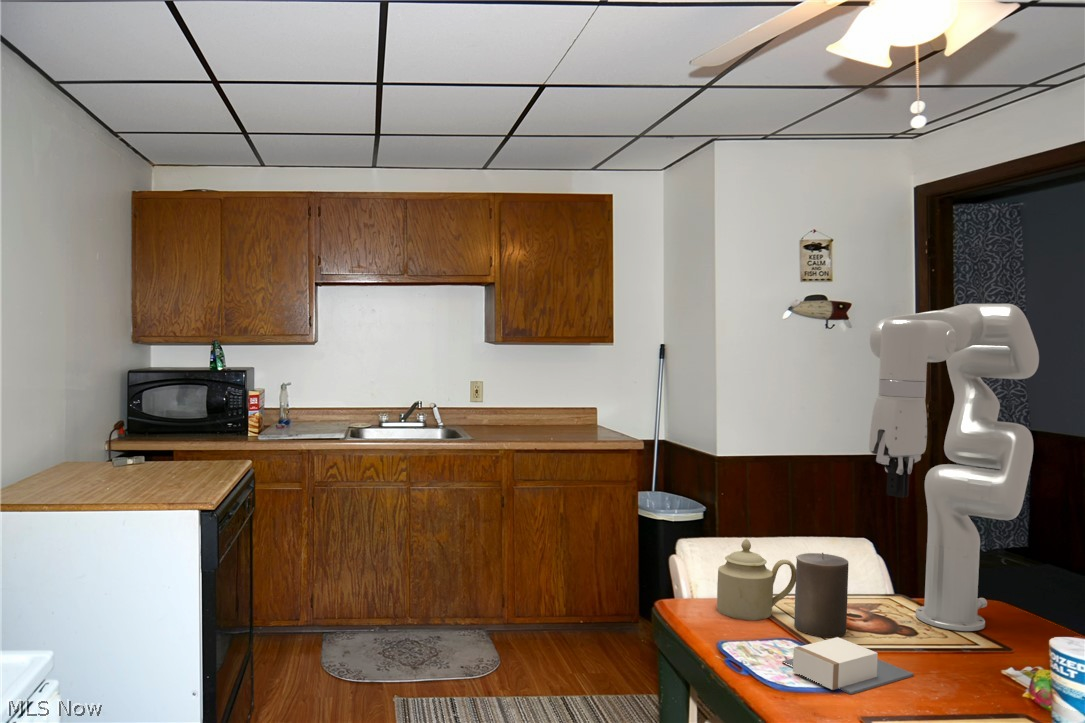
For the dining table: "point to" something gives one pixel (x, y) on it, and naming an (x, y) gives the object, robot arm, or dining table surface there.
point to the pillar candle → (821, 594)
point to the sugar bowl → (749, 585)
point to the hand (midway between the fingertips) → (897, 495)
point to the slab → (835, 662)
